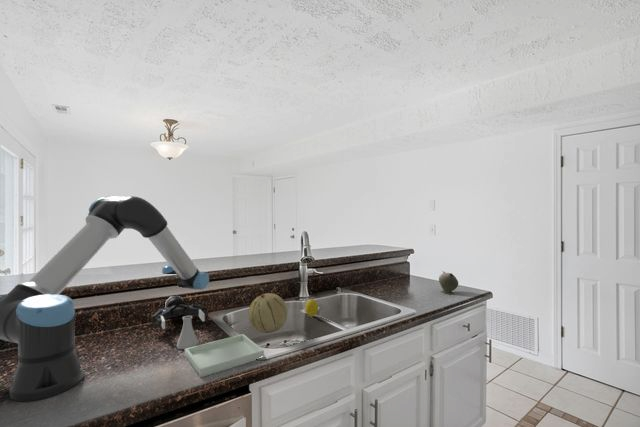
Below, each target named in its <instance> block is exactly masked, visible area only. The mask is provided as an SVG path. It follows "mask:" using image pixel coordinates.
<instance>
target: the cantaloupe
mask: <svg viewBox="0 0 640 427" xmlns="http://www.w3.org/2000/svg"><path fill="white" fill-rule="evenodd" d="M288 313H289V312H288V306H287V304H286V302H285V301H284V300H283V298H282V297H281V296H279V295H278V294H275V293H272V292H269V293H262V294H260V295H259V296H257V297H256V298H254V300H253V301H252V302H251V303H250V306H249V309H248V317H249V321H250V324H251V326H252V327H253V329H254V330H256V331H257V332H259V333H263V334H270V333H271V334H272V333H274V332H277V331H279V330H280V329H282V327H284V325H285V323H286V321H287V319H288Z"/></svg>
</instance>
